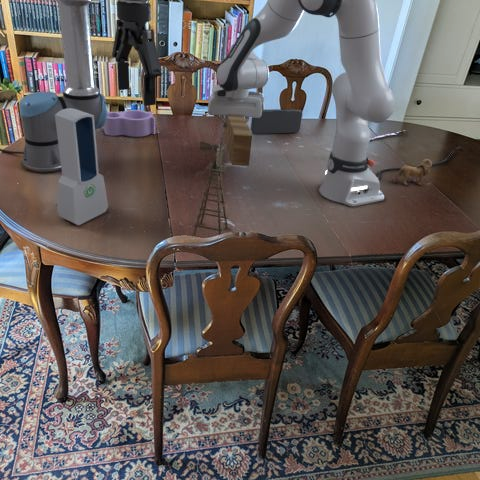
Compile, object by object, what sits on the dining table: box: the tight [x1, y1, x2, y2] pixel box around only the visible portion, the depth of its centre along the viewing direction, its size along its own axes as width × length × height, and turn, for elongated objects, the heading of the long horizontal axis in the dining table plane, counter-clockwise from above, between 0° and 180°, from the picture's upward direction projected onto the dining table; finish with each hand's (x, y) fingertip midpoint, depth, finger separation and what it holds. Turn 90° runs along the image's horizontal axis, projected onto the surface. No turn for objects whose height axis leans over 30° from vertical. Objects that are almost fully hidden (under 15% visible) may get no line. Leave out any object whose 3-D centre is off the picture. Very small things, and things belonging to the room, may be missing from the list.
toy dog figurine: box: [392, 158, 433, 186], centre depth 172 cm, size 15×5×9 cm, turn 110°
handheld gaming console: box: [250, 108, 303, 135], centre depth 204 cm, size 23×3×10 cm, turn 108°
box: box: [223, 115, 253, 167], centre depth 169 cm, size 26×6×11 cm, turn 8°
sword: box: [370, 131, 408, 142], centre depth 215 cm, size 31×3×1 cm, turn 126°
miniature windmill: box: [192, 132, 229, 237], centre depth 124 cm, size 9×8×30 cm
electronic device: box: [55, 108, 109, 226], centre depth 126 cm, size 12×8×30 cm, turn 148°
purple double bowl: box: [103, 109, 156, 138], centre depth 190 cm, size 20×12×7 cm, turn 109°
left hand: (136, 97), depth 115 cm, fingers open, 13 cm apart
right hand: (233, 127), depth 177 cm, fingers closed on box, 6 cm apart
